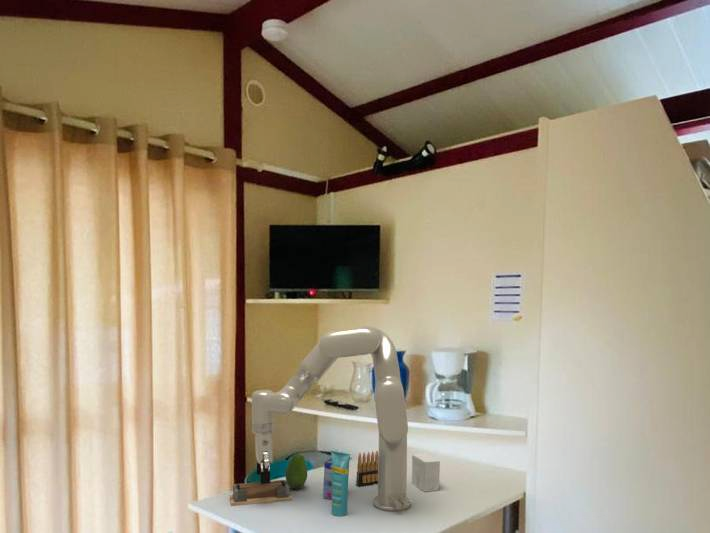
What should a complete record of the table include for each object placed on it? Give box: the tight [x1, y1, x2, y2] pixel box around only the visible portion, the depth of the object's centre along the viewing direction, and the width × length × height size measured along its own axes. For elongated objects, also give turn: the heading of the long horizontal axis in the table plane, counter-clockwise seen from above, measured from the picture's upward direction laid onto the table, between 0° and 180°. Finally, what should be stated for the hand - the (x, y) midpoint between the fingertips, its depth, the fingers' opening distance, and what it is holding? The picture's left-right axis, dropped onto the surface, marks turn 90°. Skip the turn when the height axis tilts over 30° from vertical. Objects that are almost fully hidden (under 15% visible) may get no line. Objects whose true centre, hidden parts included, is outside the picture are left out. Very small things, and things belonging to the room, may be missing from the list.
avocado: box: [285, 453, 308, 490], centre depth 194 cm, size 8×8×12 cm
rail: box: [229, 479, 293, 507], centre depth 183 cm, size 7×20×4 cm, turn 107°
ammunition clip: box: [355, 450, 379, 488], centre depth 199 cm, size 11×2×12 cm, turn 116°
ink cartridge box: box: [322, 451, 343, 500], centre depth 188 cm, size 10×6×14 cm, turn 160°
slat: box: [238, 480, 282, 499], centre depth 183 cm, size 4×14×4 cm, turn 107°
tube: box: [330, 450, 351, 517], centre depth 173 cm, size 7×5×19 cm, turn 62°
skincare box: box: [411, 453, 441, 493], centre depth 198 cm, size 10×6×10 cm, turn 20°
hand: (263, 478), depth 183 cm, fingers open, 9 cm apart
